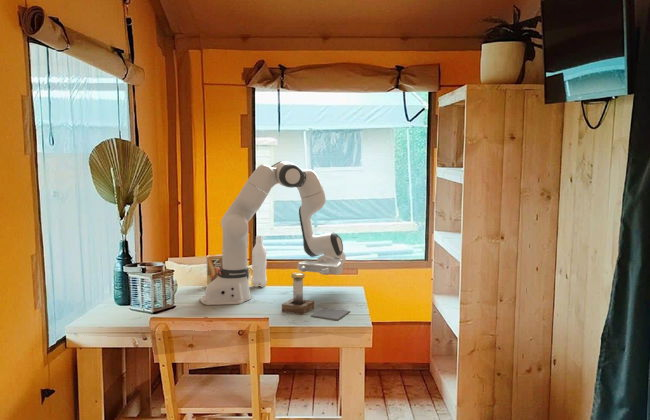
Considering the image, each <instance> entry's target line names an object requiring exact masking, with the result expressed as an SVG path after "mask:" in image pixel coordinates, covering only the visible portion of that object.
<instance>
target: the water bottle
mask: <svg viewBox="0 0 650 420" xmlns="http://www.w3.org/2000/svg"><path fill="white" fill-rule="evenodd" d="M251 251H252V252H251V256H252V257H251V266H252V278H251V281H252V285H253V286H254V287H255V288H259V286H260V288H265V286H266V285H267V282H268V278H267V265H268V264H267V253H268V252H267V250H266V247H265V246H264V243H263V236H262V235H256V236H255V244H254V246H253V248H252V250H251Z"/></svg>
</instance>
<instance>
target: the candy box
mask: <svg viewBox="0 0 650 420" xmlns="http://www.w3.org/2000/svg"><path fill="white" fill-rule="evenodd" d="M222 267H223V262H222V254H212V255H211V254H209V255H206V286H207V285H208V284H209V283H211V282H212V281H213V280H215V279H216V278H217V277H218V273H217V272H216V269H217V268H220V269H221V268H222Z"/></svg>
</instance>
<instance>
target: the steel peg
mask: <svg viewBox="0 0 650 420" xmlns="http://www.w3.org/2000/svg"><path fill="white" fill-rule="evenodd" d="M290 277H291V279H292V282H293V283H292V285H293V288H292V291H293V292H292V293H293V294H292V297H293V298H292V299H293V304H296V305H302V304H303V300H304V298H303V297H304V289H303V288H304V287H303V286H304V285H303V284H304V280H303V279H304V278H306V275H305V272H293V273H291V276H290Z"/></svg>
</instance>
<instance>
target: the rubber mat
mask: <svg viewBox="0 0 650 420" xmlns="http://www.w3.org/2000/svg"><path fill="white" fill-rule="evenodd" d="M350 312H351V311H350V310H346V309H339V308H332V307H326V306H324V307H321V308H320V309H318V310H316V311H315V312H313V313H311V314H310V317H312V318H318V319H319V318H320V319H324V320H330V321H337V322H338V321H340V320H341V319H342V318H344V317H345V316H347V315H348V314H349V313H350Z"/></svg>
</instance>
